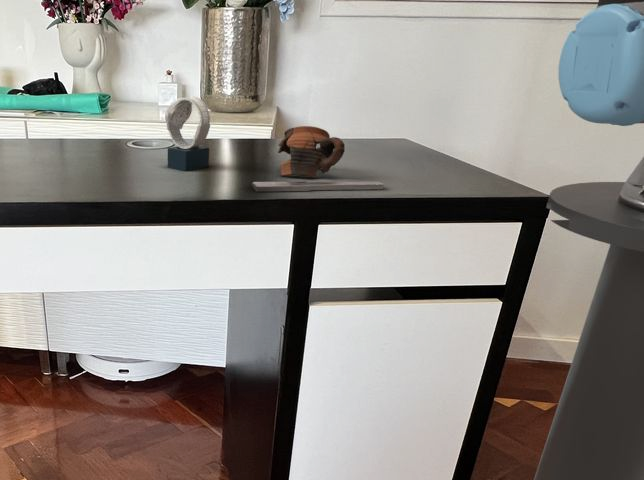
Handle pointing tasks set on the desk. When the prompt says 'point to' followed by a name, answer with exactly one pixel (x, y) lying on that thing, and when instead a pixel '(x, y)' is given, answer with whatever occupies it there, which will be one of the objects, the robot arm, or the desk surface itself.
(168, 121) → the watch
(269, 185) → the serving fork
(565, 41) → the robot arm
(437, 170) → the desk surface
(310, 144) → the pottery mug
